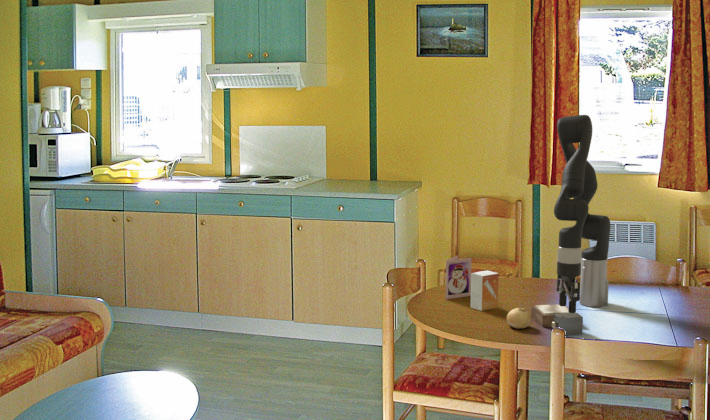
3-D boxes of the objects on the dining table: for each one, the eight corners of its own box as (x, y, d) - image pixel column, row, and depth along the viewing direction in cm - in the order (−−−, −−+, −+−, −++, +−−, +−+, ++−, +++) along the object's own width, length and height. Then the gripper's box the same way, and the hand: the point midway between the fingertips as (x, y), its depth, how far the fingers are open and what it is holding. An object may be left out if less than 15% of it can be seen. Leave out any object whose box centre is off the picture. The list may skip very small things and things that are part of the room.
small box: (481, 311, 288) (482, 276, 286) (470, 307, 293) (470, 272, 291) (498, 307, 292) (499, 273, 290) (486, 304, 297) (487, 269, 295)
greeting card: (446, 299, 304) (447, 261, 301) (436, 295, 310) (436, 257, 308) (472, 296, 308) (472, 258, 306) (461, 292, 315) (462, 254, 313)
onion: (508, 330, 265) (508, 309, 264) (504, 323, 273) (505, 303, 272) (532, 330, 264) (533, 310, 263) (528, 324, 272) (529, 303, 271)
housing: (576, 330, 265) (577, 312, 264) (582, 334, 260) (582, 317, 259) (549, 331, 264) (550, 313, 263) (554, 336, 259) (555, 318, 258)
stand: (564, 315, 281) (564, 303, 280) (577, 325, 269) (577, 312, 269) (531, 317, 280) (531, 304, 279) (542, 327, 268) (542, 314, 267)
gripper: (588, 264, 252) (586, 314, 254) (572, 255, 266) (570, 303, 268) (565, 265, 251) (563, 315, 253) (550, 256, 265) (548, 304, 267)
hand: (567, 309), depth 260 cm, fingers open, 8 cm apart
